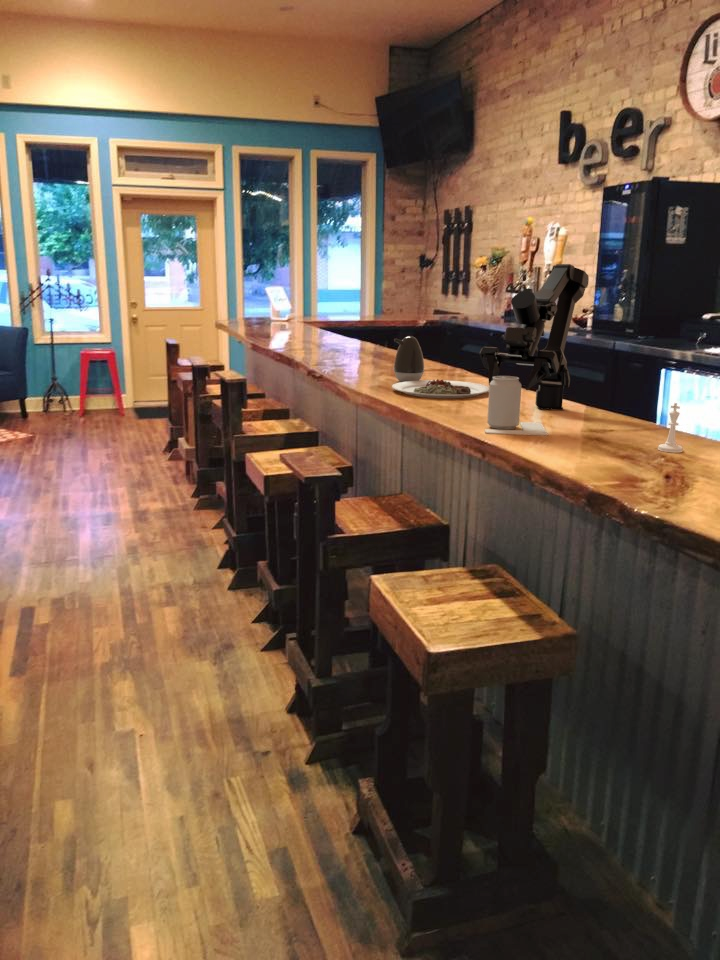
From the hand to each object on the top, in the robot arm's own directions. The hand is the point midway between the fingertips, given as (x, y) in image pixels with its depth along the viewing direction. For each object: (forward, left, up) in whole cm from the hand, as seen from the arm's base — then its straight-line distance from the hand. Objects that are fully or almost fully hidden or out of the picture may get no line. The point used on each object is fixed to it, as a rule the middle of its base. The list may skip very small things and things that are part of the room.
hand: (507, 387), depth 184 cm
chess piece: (-33, +20, -10) cm, 40 cm away
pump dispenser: (+27, -74, -10) cm, 79 cm away
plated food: (+16, -53, -10) cm, 56 cm away
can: (+1, +1, -9) cm, 10 cm away
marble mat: (-2, +2, -9) cm, 10 cm away
